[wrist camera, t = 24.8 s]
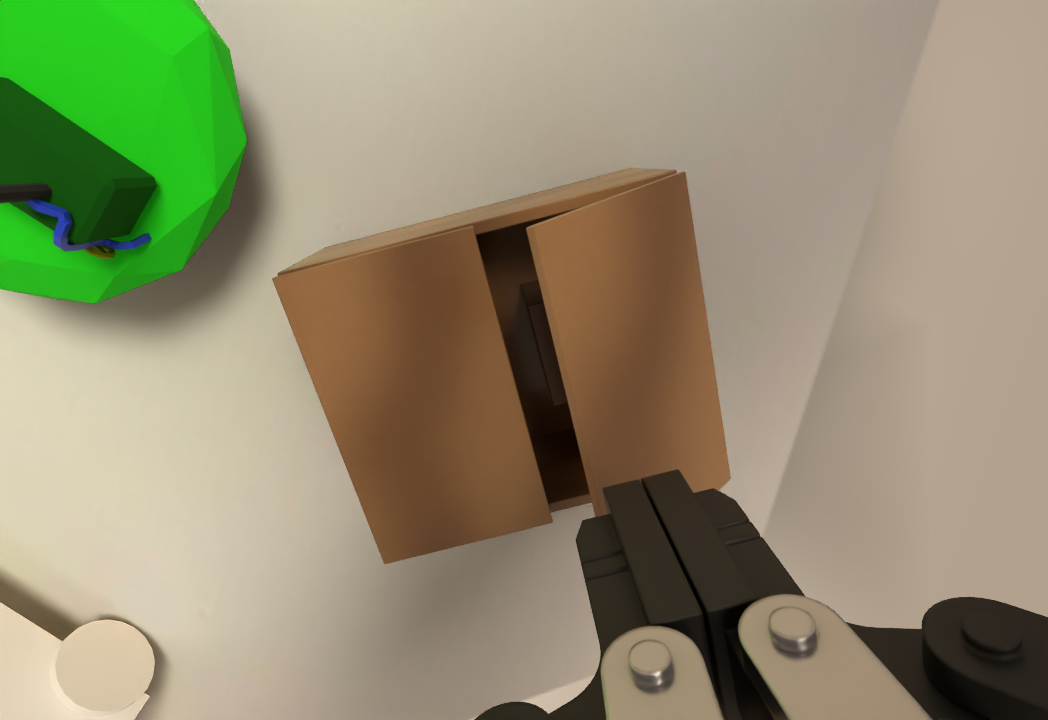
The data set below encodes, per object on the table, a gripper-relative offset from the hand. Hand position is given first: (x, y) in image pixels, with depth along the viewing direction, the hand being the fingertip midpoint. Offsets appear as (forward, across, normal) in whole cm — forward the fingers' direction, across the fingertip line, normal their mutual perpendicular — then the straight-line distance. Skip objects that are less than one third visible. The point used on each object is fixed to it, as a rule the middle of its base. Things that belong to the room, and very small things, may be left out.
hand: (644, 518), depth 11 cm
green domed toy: (+15, +14, -12) cm, 24 cm away
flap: (+7, -2, 0) cm, 7 cm away
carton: (+15, +2, 0) cm, 15 cm away
